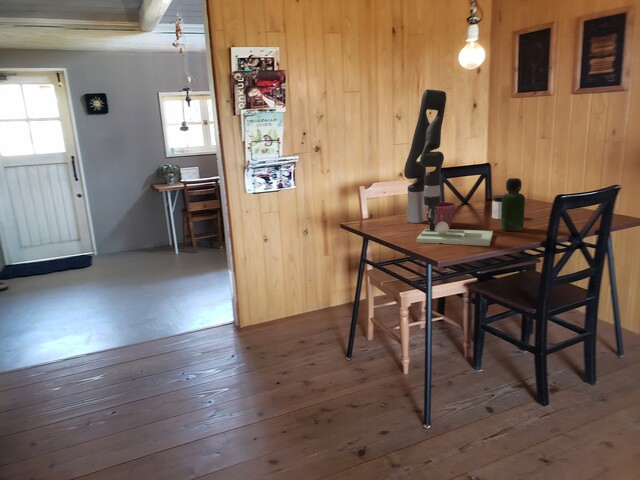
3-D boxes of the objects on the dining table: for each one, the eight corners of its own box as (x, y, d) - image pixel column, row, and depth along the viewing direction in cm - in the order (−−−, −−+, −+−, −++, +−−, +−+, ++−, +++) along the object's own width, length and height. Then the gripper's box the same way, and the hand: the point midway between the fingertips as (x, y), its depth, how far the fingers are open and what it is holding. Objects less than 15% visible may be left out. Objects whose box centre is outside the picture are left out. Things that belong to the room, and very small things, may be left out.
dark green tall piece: (500, 231, 230) (502, 180, 224) (500, 227, 239) (502, 177, 233) (523, 232, 226) (526, 180, 220) (523, 227, 235) (525, 177, 229)
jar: (488, 217, 263) (489, 196, 260) (500, 215, 266) (500, 194, 263) (500, 219, 255) (501, 198, 252) (512, 218, 258) (513, 196, 255)
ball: (434, 235, 222) (434, 222, 221) (436, 232, 228) (436, 220, 226) (447, 235, 220) (447, 223, 219) (449, 232, 225) (449, 220, 224)
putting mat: (416, 242, 220) (416, 236, 219) (425, 232, 237) (425, 226, 237) (489, 245, 207) (489, 239, 206) (492, 235, 224) (492, 228, 224)
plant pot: (421, 228, 247) (421, 204, 244) (443, 224, 253) (443, 200, 250) (438, 233, 235) (438, 207, 232) (461, 229, 240) (461, 204, 237)
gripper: (427, 192, 228) (427, 227, 233) (421, 196, 217) (421, 233, 221) (442, 192, 225) (442, 227, 229) (437, 197, 214) (437, 234, 218)
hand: (432, 230), depth 225 cm, fingers closed
